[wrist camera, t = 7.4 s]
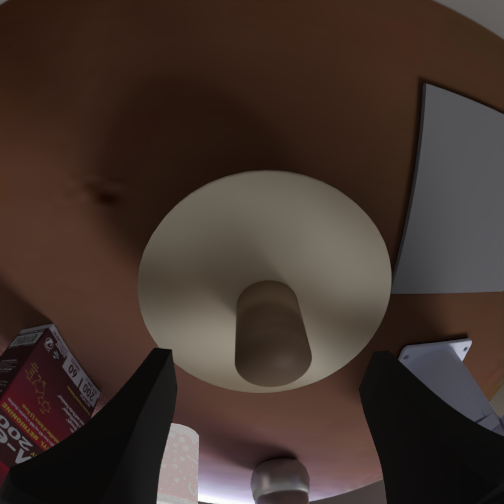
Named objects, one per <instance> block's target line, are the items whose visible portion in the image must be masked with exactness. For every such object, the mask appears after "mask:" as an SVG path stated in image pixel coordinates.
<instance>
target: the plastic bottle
mask: <svg viewBox="0 0 504 504" xmlns="http://www.w3.org/2000/svg"><path fill="white" fill-rule="evenodd" d="M309 489H310V478H309V475H308V472H307V469H306V467H305V466H304V465H303V464H302V463H301V462H299V461H298V460H295V459H288V458H282V459H273V460H269V461H266V462H263V463H261V464H259V465H258V466H257V467H256V468H255V470H254V471H253V473H252V477H251V490H252V495H253V498H254V500H255V504H309V497H308V495H309Z"/></svg>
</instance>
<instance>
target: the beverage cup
mask: <svg viewBox="0 0 504 504" xmlns="http://www.w3.org/2000/svg"><path fill="white" fill-rule="evenodd" d="M198 451H199V436H198V434H197V433H196V432H195V431H194V430H192V429H191V428H189V427H186V426H183V425H180V424H174V423H171V427H170V431H169V435H168V439H167V443H166V447H165V451H164V455H163V459H162V463H161V468H160V475H159V483H158V493H157V504H198Z"/></svg>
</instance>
